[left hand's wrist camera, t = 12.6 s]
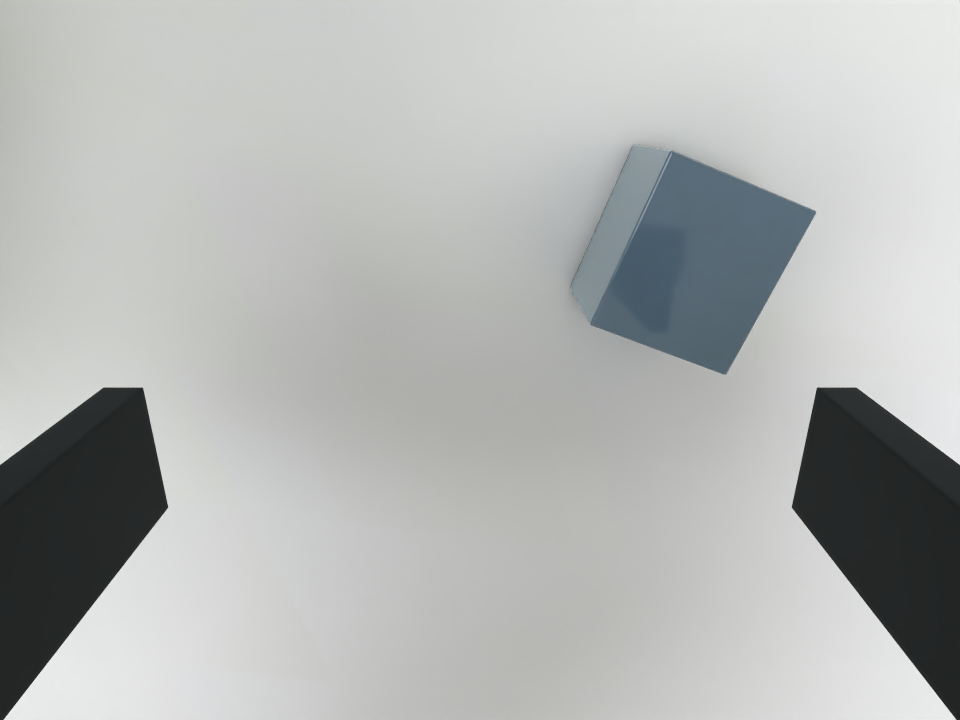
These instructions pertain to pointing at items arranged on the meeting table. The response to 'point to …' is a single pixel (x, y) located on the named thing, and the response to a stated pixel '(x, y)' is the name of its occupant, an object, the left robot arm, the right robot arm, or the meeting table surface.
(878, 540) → the left robot arm
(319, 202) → the meeting table surface
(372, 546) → the meeting table surface
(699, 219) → the block
